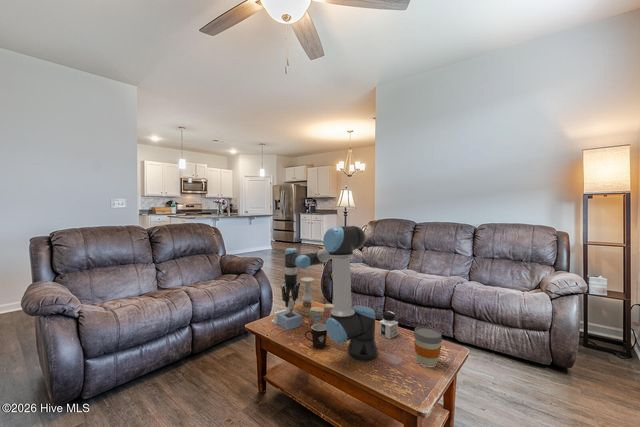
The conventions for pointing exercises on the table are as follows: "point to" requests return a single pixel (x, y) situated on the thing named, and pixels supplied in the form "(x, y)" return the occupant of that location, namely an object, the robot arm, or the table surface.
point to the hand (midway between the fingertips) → (290, 311)
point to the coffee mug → (318, 335)
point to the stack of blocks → (320, 314)
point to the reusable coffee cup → (427, 345)
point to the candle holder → (306, 297)
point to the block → (290, 320)
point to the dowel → (290, 306)
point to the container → (388, 325)
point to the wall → (277, 316)
